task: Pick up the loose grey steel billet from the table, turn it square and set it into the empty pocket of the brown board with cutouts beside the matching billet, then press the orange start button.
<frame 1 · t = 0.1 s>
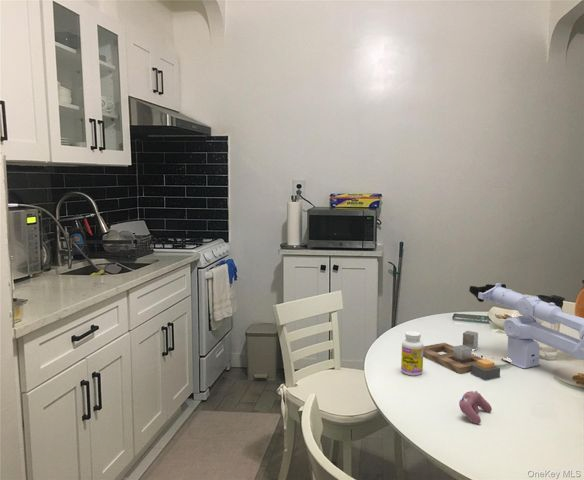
hand: (478, 287, 185), 22 cm above the table, tool horizontal, fingers open, 7 cm apart
steel billet: (470, 349, 184), on the table
brown board with cutouts: (451, 360, 173), on the table
button housing: (485, 375, 159), on the table
video game controller: (474, 416, 133), on the table
start button: (485, 366, 159), point 3 cm above the table, slide at 0.0 cm
supplement bottle: (411, 372, 162), on the table
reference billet: (461, 365, 168), resting in brown board with cutouts
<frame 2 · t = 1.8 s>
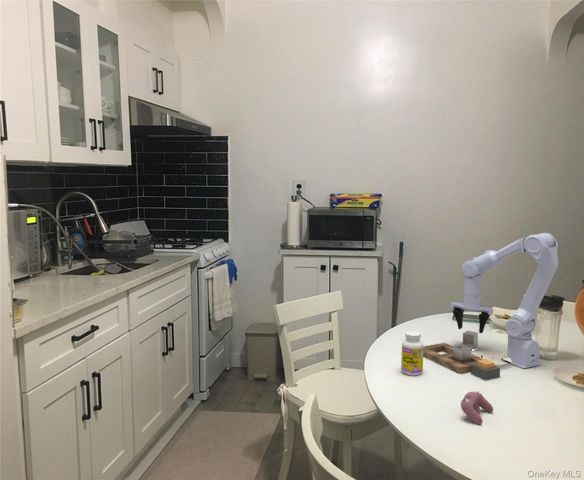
hand: (470, 330, 183), 7 cm above the table, tool pointing down, fingers open, 7 cm apart
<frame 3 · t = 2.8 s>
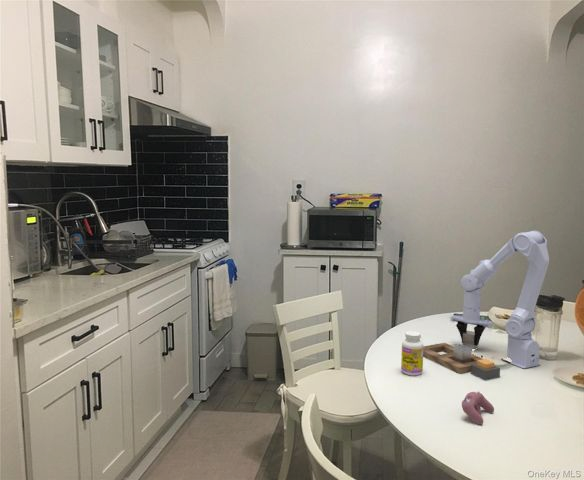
hand: (470, 343, 184), 2 cm above the table, tool pointing down, fingers closed on steel billet, 4 cm apart
steel billet: (470, 348, 184), on the table, touching gripper
everything else where it was.
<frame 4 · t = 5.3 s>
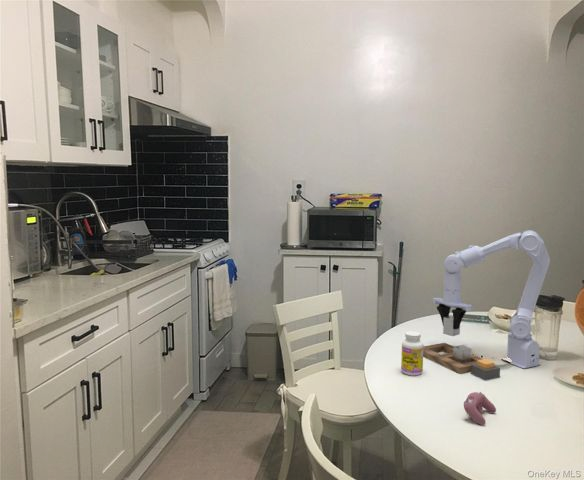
hand: (450, 327, 178), 9 cm above the table, tool pointing down, fingers closed on steel billet, 4 cm apart
steel billet: (451, 333, 179), point 7 cm above the table, touching gripper
when the fingers open (3 cm above the table, at t = 7.6 s): steel billet stays where it is, resting in brown board with cutouts.
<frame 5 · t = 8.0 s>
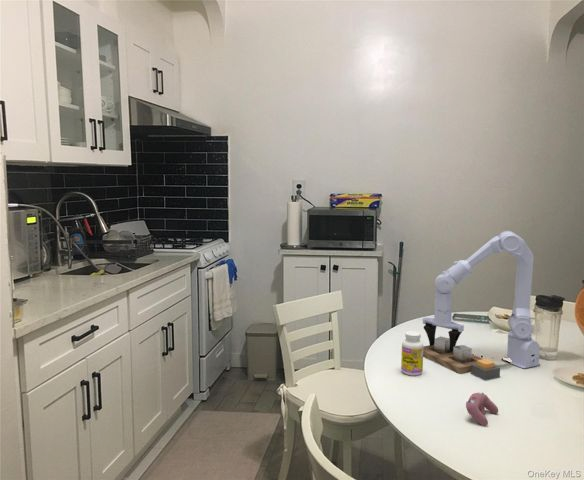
hand: (441, 347, 177), 3 cm above the table, tool pointing down, fingers open, 7 cm apart
steel billet: (442, 355, 177), resting in brown board with cutouts
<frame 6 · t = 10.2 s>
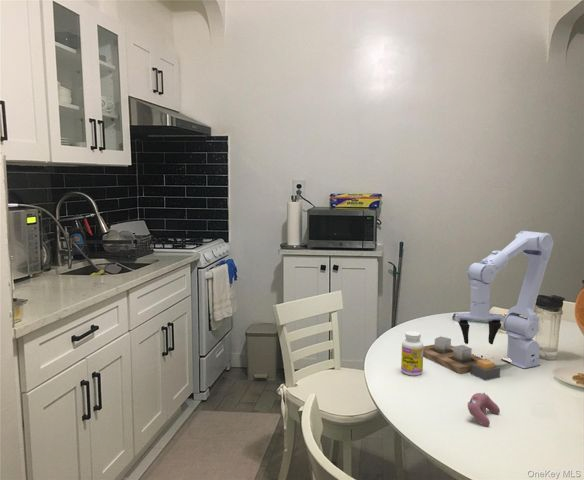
hand: (478, 343, 161), 9 cm above the table, tool pointing down, fingers open, 7 cm apart
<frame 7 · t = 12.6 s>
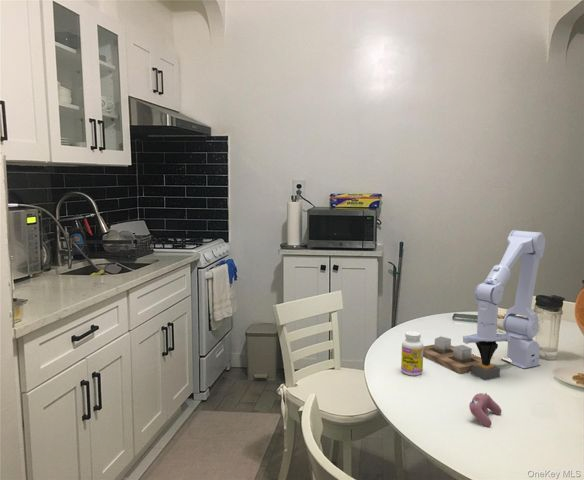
hand: (485, 364, 159), 4 cm above the table, tool pointing down, fingers closed, pressing on start button
start button: (485, 368, 159), point 2 cm above the table, slide at 0.9 cm, touching gripper
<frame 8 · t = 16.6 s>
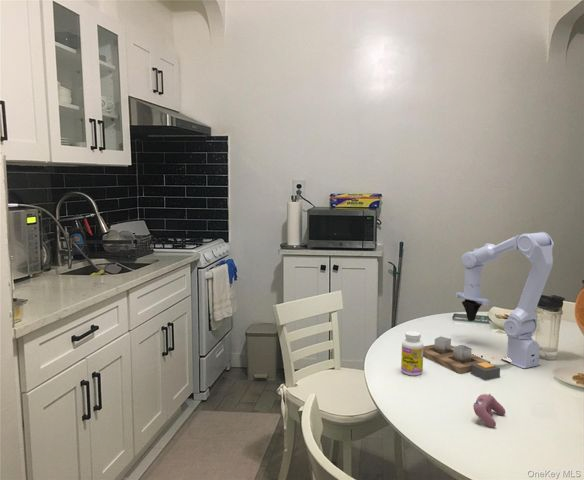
hand: (471, 320, 187), 9 cm above the table, tool pointing down, fingers closed
start button: (485, 369, 159), point 2 cm above the table, slide at 1.0 cm
at the end: steel billet 0.4 cm from the target spot on the brown board with cutouts, point 0.0 cm above the brown board with cutouts's base; steel billet tilted 0°; start button slide at 1.0 cm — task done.
